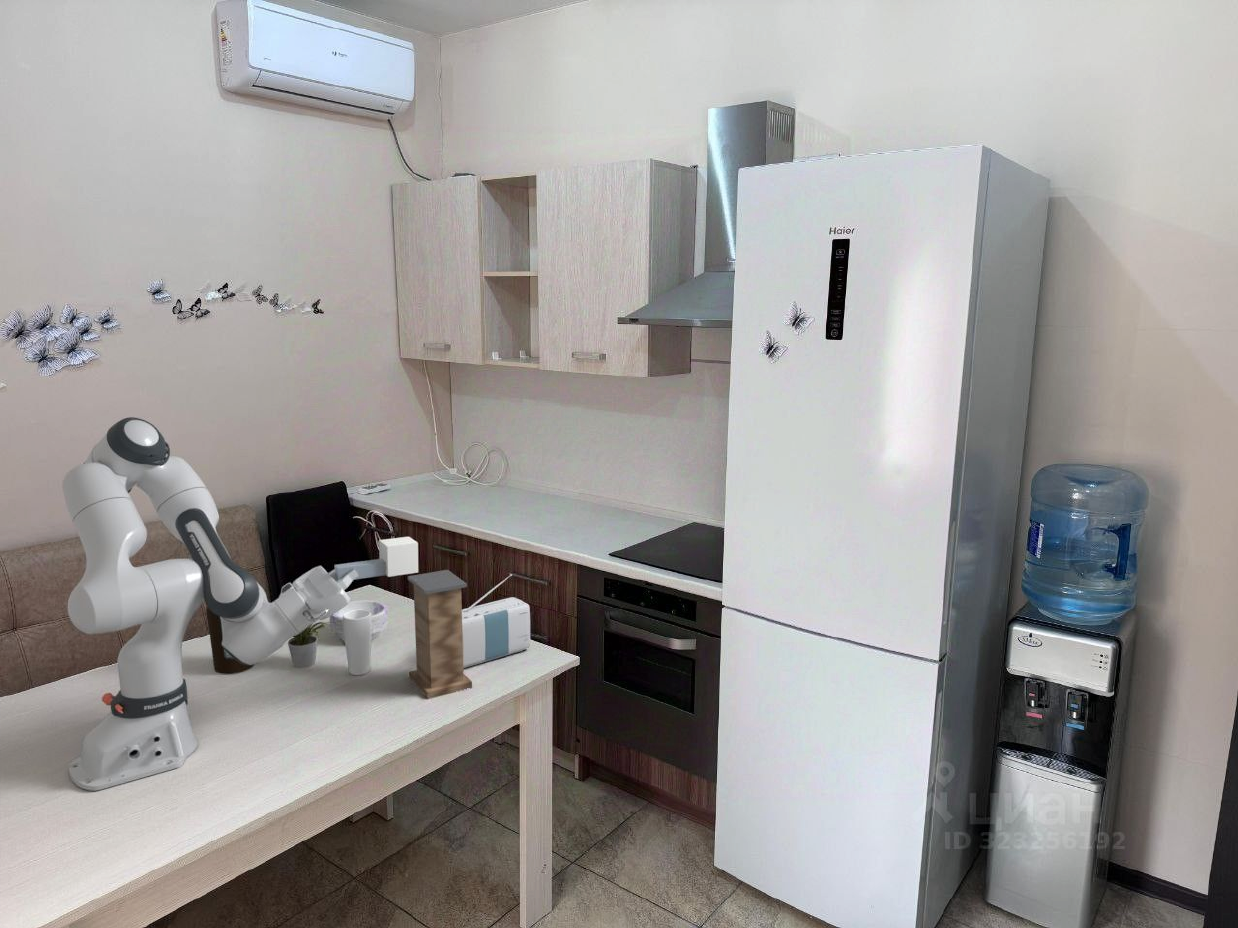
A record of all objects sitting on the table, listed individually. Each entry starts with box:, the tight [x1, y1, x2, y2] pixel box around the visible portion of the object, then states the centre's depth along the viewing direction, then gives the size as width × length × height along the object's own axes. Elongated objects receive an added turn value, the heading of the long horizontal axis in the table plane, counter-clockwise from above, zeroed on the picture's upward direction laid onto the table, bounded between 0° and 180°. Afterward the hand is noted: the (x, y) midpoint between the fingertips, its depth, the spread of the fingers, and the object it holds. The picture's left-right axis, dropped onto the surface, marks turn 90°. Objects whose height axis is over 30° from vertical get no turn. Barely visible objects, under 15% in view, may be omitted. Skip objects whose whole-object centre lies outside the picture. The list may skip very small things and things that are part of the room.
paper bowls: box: [329, 599, 389, 642], centre depth 231 cm, size 15×15×8 cm
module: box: [334, 536, 419, 582], centre depth 190 cm, size 18×6×7 cm, turn 123°
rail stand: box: [407, 569, 473, 700], centre depth 201 cm, size 11×13×26 cm
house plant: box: [287, 614, 334, 669], centre depth 211 cm, size 14×14×16 cm
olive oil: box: [205, 606, 255, 675], centre depth 209 cm, size 11×11×25 cm
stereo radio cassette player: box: [462, 573, 531, 670], centre depth 217 cm, size 21×8×20 cm, turn 129°
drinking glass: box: [343, 610, 373, 676], centre depth 208 cm, size 7×7×15 cm
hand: (353, 568), depth 187 cm, fingers closed on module, 3 cm apart
